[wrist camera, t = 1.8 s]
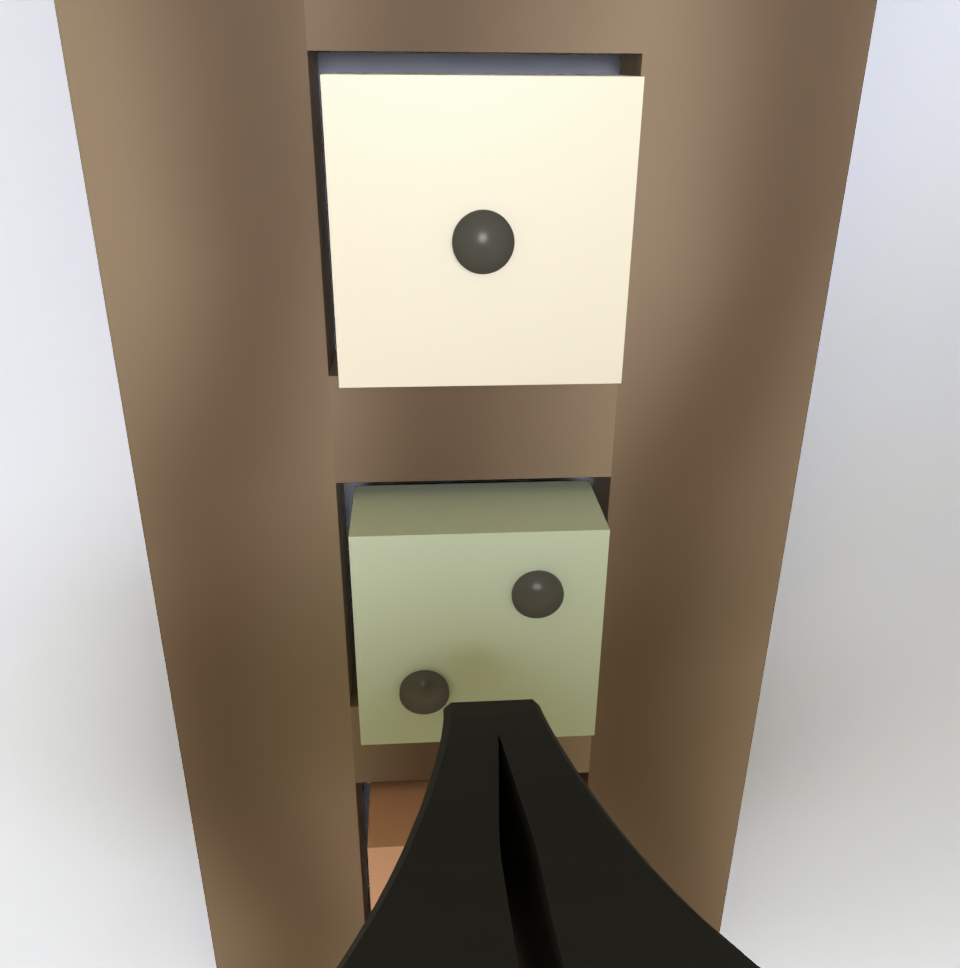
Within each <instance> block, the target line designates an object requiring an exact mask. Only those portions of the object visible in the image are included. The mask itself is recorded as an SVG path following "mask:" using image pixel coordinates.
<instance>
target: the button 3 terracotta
mask: <svg viewBox="0 0 960 968" xmlns="http://www.w3.org/2000/svg"><path fill="white" fill-rule="evenodd" d="M429 780H430V779H429ZM429 780H407V781H385V782H371V788H370V807H369V826H368V845H367V851H368V867H369V884H370V900H371V911H372V909H373V908H374V906H375V904H376V902H377V900H378V898H379V897H380V895H381V893H382V891H383V889H384V887H385V885H386V883H387V881H388V880H389V878H390V876H391V874H392V872H393V870H394V867H395V865H396V863H397V861H398V859H399V857H400V855H401V853H402V850H403V848H404V846H405V843H406V841H407V839H408V836H409V834H410V831H411V829H412V827H413V824H414V822H415V819H416V817H417V815H418V812H419V810H420V807H421V804H422V802H423V799H424V796H425V793H426V790H427V786H428V783H429Z"/></svg>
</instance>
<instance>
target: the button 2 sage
mask: <svg viewBox="0 0 960 968" xmlns="http://www.w3.org/2000/svg"><path fill="white" fill-rule="evenodd" d="M609 537H610V528H609V526H608V524H607V522H606V519H605V517H604V515H603V512H602V510H601V508H600V505H599V503H598V501H597V498H596V496H595V494H594V491H593V489H592V487H591V484H590V482H589V481H549V482H506V483H463V484H419V485H376V486H355V489H354V496H353V504H352V512H351V520H350V528H349V535H348V540H349V556H350V573H351V589H352V606H353V622H354V638H355V655H356V671H357V687H358V704H359V720H360V737H361V745H376V744H399V743H423V742H440V740H441V735H442V728H443V709H444V708H445V707H446V706H447V705H449V704H450V703H451V702H475V701H499V700H524V699H533V700H534V701H535V702H536V703H537V704H538V705H539V706H540V708H541V710H542V712H543V714H544V716H545V718H546V720H547V722H548V724H549V726H550V727H551V729H552V731H553V733H554V735H555V736H556V737H565V736H589V735H594V734H595V721H596V708H597V695H598V682H599V669H600V655H601V642H602V629H603V616H604V603H605V590H606V577H607V564H608V551H609Z"/></svg>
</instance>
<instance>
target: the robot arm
mask: <svg viewBox="0 0 960 968" xmlns="http://www.w3.org/2000/svg"><path fill="white" fill-rule="evenodd" d="M336 968H760V967H759V966H757V965H756V964H755V963H754V962H752V961H751V960H750V959H749V958H748V957H747V956H745V955H744V954H743V953H742V952H741V951H740V950H739V949H737V948H736V947H735V946H734V945H733V944H732V943H730V942H729V941H728V940H727V939H726V938H725V937H723V936H722V935H721V934H720V933H719V932H718V931H717V930H715V929H714V928H713V927H712V926H711V925H710V924H708V923H707V922H706V921H705V920H704V919H703V918H702V917H701V916H700V915H699V914H698V913H697V912H696V911H694V910H693V909H692V908H691V907H690V906H689V905H688V904H687V903H686V902H685V901H684V900H683V899H682V898H681V897H680V896H679V895H678V894H677V893H676V892H675V891H674V890H673V889H672V888H671V887H670V886H669V885H668V884H667V882H666V881H665V880H664V879H663V878H662V877H661V876H660V875H659V874H658V873H657V872H656V871H655V870H654V869H653V868H652V867H651V865H650V864H649V863H648V862H647V861H646V860H645V859H644V858H643V856H642V855H641V854H640V853H639V852H638V851H637V849H636V848H635V847H634V846H633V845H632V844H631V842H630V841H629V840H628V839H627V837H626V836H625V835H624V834H623V832H622V831H621V830H620V829H619V827H618V826H617V825H616V824H615V823H614V821H613V820H612V819H611V817H610V816H609V815H608V813H607V812H606V811H605V810H604V808H603V807H602V806H601V804H600V803H599V801H598V800H597V799H596V797H595V796H594V794H593V793H592V792H591V790H590V789H589V787H588V786H587V784H586V783H585V782H584V780H583V779H582V777H581V776H580V775H579V773H578V772H577V770H576V768H575V767H574V765H573V764H572V762H571V761H570V759H569V758H568V756H567V754H566V753H565V751H564V750H563V748H562V746H561V745H560V743H559V741H558V740H557V738H556V736H555V735H554V733H553V731H552V729H551V727H550V726H549V724H548V722H547V720H546V718H545V716H544V714H543V712H542V710H541V708H540V706H539V705H538V704H537V703H536V702H535V701H534V700H533V699H524V700H499V701H475V702H451V703H450V704H449V705H447V706H446V707H445V708H444V709H443V728H442V735H441V740H440V745H439V749H438V753H437V757H436V761H435V765H434V768H433V771H432V774H431V777H430V780H429V783H428V786H427V790H426V793H425V796H424V799H423V802H422V804H421V807H420V810H419V812H418V815H417V817H416V819H415V822H414V824H413V827H412V829H411V831H410V834H409V836H408V839H407V841H406V843H405V846H404V848H403V850H402V853H401V855H400V857H399V859H398V861H397V863H396V865H395V867H394V870H393V872H392V874H391V876H390V878H389V880H388V881H387V883H386V885H385V887H384V889H383V891H382V893H381V895H380V897H379V898H378V900H377V902H376V904H375V906H374V908H373V909H372V911H371V913H370V914H369V916H368V918H367V919H366V921H365V923H364V925H363V926H362V928H361V930H360V931H359V933H358V935H357V936H356V938H355V940H354V941H353V943H352V944H351V946H350V948H349V949H348V951H347V952H346V954H345V955H344V957H343V959H342V960H341V962H340V963H339V965H338V966H337V967H336Z"/></svg>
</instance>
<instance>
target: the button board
mask: <svg viewBox="0 0 960 968" xmlns="http://www.w3.org/2000/svg"><path fill="white" fill-rule="evenodd" d="M54 3H55V9H56V15H57V21H58V27H59V33H60V39H61V45H62V51H63V57H64V63H65V69H66V74H67V80H68V86H69V92H70V98H71V104H72V110H73V116H74V122H75V128H76V134H77V140H78V146H79V152H80V158H81V164H82V170H83V175H84V181H85V187H86V193H87V199H88V205H89V211H90V217H91V223H92V229H93V235H94V241H95V247H96V253H97V259H98V265H99V270H100V276H101V282H102V288H103V294H104V300H105V306H106V312H107V318H108V324H109V330H110V336H111V342H112V348H113V354H114V360H115V366H116V371H117V377H118V383H119V389H120V395H121V401H122V407H123V413H124V419H125V425H126V431H127V437H128V443H129V449H130V455H131V461H132V467H133V472H134V478H135V484H136V490H137V496H138V502H139V508H140V514H141V520H142V526H143V532H144V538H145V544H146V550H147V556H148V562H149V567H150V573H151V579H152V585H153V591H154V597H155V603H156V609H157V615H158V621H159V627H160V633H161V639H162V645H163V651H164V657H165V663H166V668H167V674H168V680H169V686H170V692H171V698H172V704H173V710H174V716H175V722H176V728H177V734H178V740H179V746H180V752H181V758H182V764H183V769H184V775H185V781H186V787H187V793H188V799H189V805H190V811H191V817H192V823H193V829H194V835H195V841H196V847H197V853H198V859H199V864H200V870H201V876H202V882H203V888H204V894H205V900H206V906H207V912H208V918H209V924H210V930H211V936H212V942H213V948H214V954H215V960H216V965H217V968H336V967H337V966H338V965H339V963H340V962H341V960H342V959H343V957H344V955H345V954H346V952H347V951H348V949H349V948H350V946H351V944H352V943H353V941H354V940H355V938H356V936H357V935H358V933H359V931H360V930H361V928H362V926H363V925H364V923H365V921H366V919H367V918H368V916H369V914H370V913H371V900H370V893H369V890H368V874H367V857H366V841H365V825H364V809H363V793H362V783H363V782H385V781H407V780H429V779H430V777H431V774H432V771H433V768H434V765H435V761H436V757H437V753H438V749H439V745H440V742H423V743H399V744H376V745H361V737H360V720H359V704H358V687H357V671H356V663H354V648H353V632H352V615H351V599H350V583H349V567H348V551H347V535H346V519H345V502H344V486H343V483H358V482H402V481H445V480H489V479H532V478H576V477H594V479H593V491H594V494H595V496H596V498H597V501H598V503H599V505H600V508H601V510H602V512H603V515H604V517H605V519H606V522H607V524H608V526H609V528H610V537H609V551H608V564H607V577H606V590H605V603H604V616H603V629H602V642H601V655H600V669H599V682H598V695H597V708H596V721H595V734H594V735H589V736H565V737H556V738H557V740H558V741H559V743H560V745H561V746H562V748H563V750H564V751H565V753H566V754H567V756H568V758H569V759H570V761H571V762H572V764H573V765H574V767H575V768H576V770H577V772H578V773H579V775H580V776H581V777H582V779H583V780H584V782H585V783H586V784H587V786H588V787H589V789H590V790H591V792H592V793H593V794H594V796H595V797H596V799H597V800H598V801H599V803H600V804H601V806H602V807H603V808H604V810H605V811H606V812H607V813H608V815H609V816H610V817H611V819H612V820H613V821H614V823H615V824H616V825H617V826H618V827H619V829H620V830H621V831H622V832H623V834H624V835H625V836H626V837H627V839H628V840H629V841H630V842H631V844H632V845H633V846H634V847H635V848H636V849H637V851H638V852H639V853H640V854H641V855H642V856H643V858H644V859H645V860H646V861H647V862H648V863H649V864H650V865H651V867H652V868H653V869H654V870H655V871H656V872H657V873H658V874H659V875H660V876H661V877H662V878H663V879H664V880H665V881H666V882H667V884H668V885H669V886H670V887H671V888H672V889H673V890H674V891H675V892H676V893H677V894H678V895H679V896H680V897H681V898H682V899H683V900H684V901H685V902H686V903H687V904H688V905H689V906H690V907H691V908H692V909H693V910H694V911H696V912H697V913H698V914H699V915H700V916H701V917H702V918H703V919H704V920H705V921H706V922H707V923H708V924H710V925H711V926H712V927H713V928H714V929H715V930H717V931H718V932H719V931H720V926H721V920H722V914H723V908H724V902H725V896H726V890H727V884H728V878H729V872H730V866H731V861H732V855H733V849H734V843H735V837H736V831H737V825H738V819H739V813H740V807H741V801H742V796H743V790H744V784H745V778H746V772H747V766H748V760H749V754H750V748H751V742H752V736H753V731H754V725H755V719H756V713H757V707H758V701H759V695H760V689H761V683H762V677H763V671H764V666H765V660H766V654H767V648H768V642H769V636H770V630H771V624H772V618H773V612H774V606H775V601H776V595H777V589H778V583H779V577H780V571H781V565H782V559H783V553H784V547H785V541H786V536H787V530H788V524H789V518H790V512H791V506H792V500H793V494H794V488H795V482H796V476H797V471H798V465H799V459H800V453H801V447H802V441H803V435H804V429H805V423H806V417H807V411H808V406H809V400H810V394H811V388H812V382H813V376H814V370H815V364H816V358H817V352H818V346H819V341H820V335H821V329H822V323H823V317H824V311H825V305H826V299H827V293H828V287H829V281H830V276H831V270H832V264H833V258H834V252H835V246H836V240H837V234H838V228H839V222H840V216H841V211H842V205H843V199H844V193H845V187H846V181H847V175H848V169H849V163H850V157H851V151H852V145H853V140H854V134H855V128H856V122H857V116H858V110H859V104H860V98H861V92H862V86H863V80H864V75H865V69H866V63H867V57H868V51H869V45H870V39H871V33H872V27H873V21H874V15H875V10H876V4H877V0H54ZM317 52H413V53H529V54H621V69H620V75H626V76H642V77H645V79H644V92H643V105H642V118H641V131H640V144H639V157H638V170H637V184H636V197H635V210H634V223H633V236H632V249H631V262H630V275H629V288H628V301H627V315H626V328H625V341H624V354H623V367H622V380H621V383H613V384H551V385H488V386H426V387H363V388H339V376H338V360H337V351H335V341H334V325H333V309H332V293H331V277H330V260H329V244H328V228H327V212H326V196H325V180H324V164H323V147H322V131H321V115H320V99H319V83H318V67H317Z"/></svg>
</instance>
